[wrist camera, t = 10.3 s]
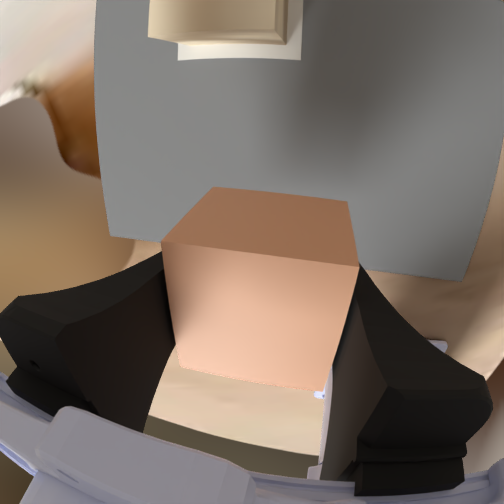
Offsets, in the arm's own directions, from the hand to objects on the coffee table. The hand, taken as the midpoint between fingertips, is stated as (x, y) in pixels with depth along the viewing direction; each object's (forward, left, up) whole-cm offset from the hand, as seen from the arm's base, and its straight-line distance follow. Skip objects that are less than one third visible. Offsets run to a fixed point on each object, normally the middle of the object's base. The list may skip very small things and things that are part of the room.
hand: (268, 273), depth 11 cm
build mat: (0, -6, -7) cm, 9 cm away
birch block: (+3, -11, -7) cm, 13 cm away
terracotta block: (0, 0, -2) cm, 2 cm away
